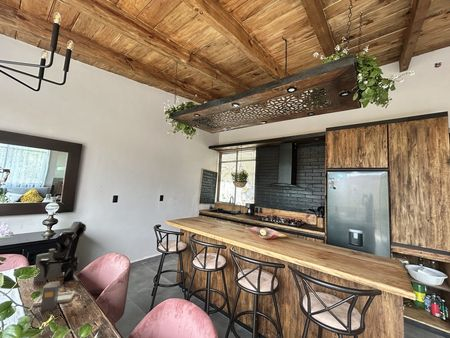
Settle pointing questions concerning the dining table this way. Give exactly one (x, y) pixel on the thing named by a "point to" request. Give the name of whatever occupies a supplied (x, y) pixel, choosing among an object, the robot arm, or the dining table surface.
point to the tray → (61, 298)
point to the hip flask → (54, 268)
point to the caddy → (50, 295)
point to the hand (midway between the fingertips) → (55, 277)
